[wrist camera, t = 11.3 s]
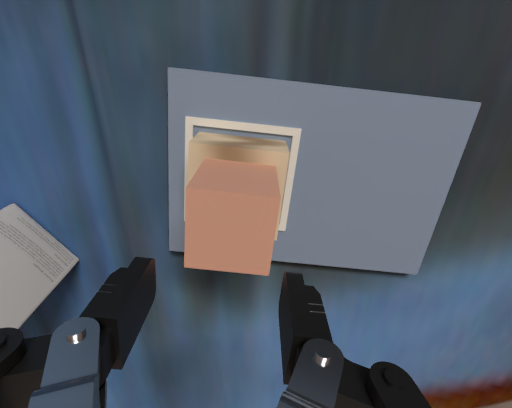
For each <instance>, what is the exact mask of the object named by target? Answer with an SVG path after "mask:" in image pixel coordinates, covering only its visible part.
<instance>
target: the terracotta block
mask: <svg viewBox="0 0 512 408" xmlns="http://www.w3.org/2000/svg"><path fill="white" fill-rule="evenodd" d="M280 200H281V196H280V190H279V184H278V177H277V171H276V166H274V165H264V164H255V163H246V162H237V161H228V160H219V159H210V158H204V160H203V162H202V163H201V165H200V166H199V168H198V169H197V171H196V173H195V174H194V176H193V177H192V179H191V180H190V182H189V183H188V185H187V187H186V201H185V249H184V267H185V268H195V269H205V270H215V271H225V272H235V273H246V274H256V275H266V276H269V272H270V265H271V259H272V252H273V245H274V239H275V232H276V226H277V219H278V213H279V206H280Z"/></svg>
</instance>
